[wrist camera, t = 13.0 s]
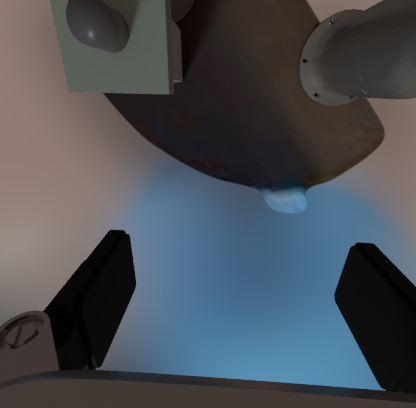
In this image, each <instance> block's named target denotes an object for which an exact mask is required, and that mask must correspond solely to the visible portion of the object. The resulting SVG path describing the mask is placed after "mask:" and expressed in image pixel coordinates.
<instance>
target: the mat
mask: <svg viewBox="0 0 416 408" xmlns="http://www.w3.org/2000/svg"><path fill="white" fill-rule="evenodd" d="M194 1H195V0H171V18H172V20H173V21H174V22H175V24H176V23H177V22H179V21H180V20H181V19H183V18H184V17H185V16H186V15H187V13H188V12H189V11H190V9H191V7H192V5H193V4H194Z"/></svg>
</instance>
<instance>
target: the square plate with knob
mask: <svg viewBox="0 0 416 408" xmlns="http://www.w3.org/2000/svg"><path fill="white" fill-rule="evenodd" d="M50 2H51V7H52V12H53V16H54V21H55V26H56V31H57V36H58V40H59V45H60V50H61V55H62V60H63V64H64V69H65V74H66V78H67V84H68V88H69V92H95V93H135V94H174V77H173V50H172V22H171V0H50Z"/></svg>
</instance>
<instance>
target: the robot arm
mask: <svg viewBox="0 0 416 408" xmlns="http://www.w3.org/2000/svg"><path fill="white" fill-rule="evenodd" d="M329 22H331V25H329ZM303 59H305V63H304V62H303ZM298 75H299V80H300V83H301V86H302V88H303V90H304V92H305V93H306V94H307V95H308V96H309V97H310V98H311V99H312V100H314V101H315V102H317V103H320V104H323V105H328V106H337V105H343V104H346V103H349V102H351V101H353V100H355V99H357V98H359V97H367V98H383V99H409V98H415V97H416V0H383V1H382V2H379V3H378V4H376V5H374V6H372V7H370V8H369V9H367V10H365V11H362V10H355V9H353V10H344V11H341V12H338V13H336V14H334V15H332V16H330V17H328V18H327V19H325V20H324V21H322V22H321V23H320V24H319V25H318V26H317V27H316V28H315V29H314V30H313V31H312V33H311V34H310V35H309V36H308V38H307V40H306V42H305V43H304V45H303V48H302V51H301V53H300V58H299V63H298ZM315 93H316V94H317V95H316V96H314V94H315ZM349 96H350V97H349ZM133 264H134V263H133V256H132V250H131V242H130V236H129V234H126V232H125V231H124V230H110V231H109V232H108V233H107V234H106V235H105V237H104V238H103V239H102V241H101V242H100V243H99V244H98V245H97V247H96V248H95V249H94V251H93V252H92V253H91V254H90V256H89V257H88V258H87V259H86V260H85V261H84V262H83V263H82V264H81V265H80V267H79V268H78V269H77V270H76V271H75V273H74V274H73V275H72V276H71V278H70V279H69V280H68V281H67V283H66V284H65V285H64V286H63V287H62V289H61V290H60V291H59V292H58V294H57V295H56V296H55V297H54V299H53V300H52V301H51V302H50V304H49V305H48V306H47V307H46V309H45V310H44V311H29V312H26V313H22V314H19V315H17V316H15V317H13V318H11V319H10V320H8V321H7V322H5V323H4V324H3V325H2V326H0V408H416V287H415V286H414V285H413V283H411V282H410V280H409V279H408V278H407V277H406V276H405V275H404V274H403V273H402V272H401V271H400V270H399V269H398V268H397V267H396V266H395V265H394V264H393V263H392V262H391V261H390V260H389V259H388V258H387V257H386V256H385V255H384V254H383V253H382V252H381V251H380V250H379V248H378V247H376V245H374V244H372V243H356V244H355V245H354V246H352V247H351V248H350V250H349V253H348V256H347V259H346V262H345V265H344V268H343V271H342V273H341V276H340V279H339V283H338V285H337V288H336V291H335V295H334V296H335V302H336V304H337V306H338V308H339V310H340V312H341V314H342V315H343V317H344V319H345V321H346V323H347V324H348V327H349V329H350V330H351V332H352V334H353V336H354V338H355V340H356V342H357V344H358V346H359V348H360V349H361V351H362V353H363V355H364V357H365V359H366V361H367V363H368V365H369V367H370V369H371V370H372V372H373V374H374V376H375V378H376V380H377V382H378V383H379V385H380V386H381V388H383V389H385V390H386V391H381V390H369V389H356V388H344V387H331V386H319V385H307V384H294V383H281V382H267V381H253V380H241V379H227V378H214V377H199V376H185V375H171V374H156V373H142V372H124V371H123V372H121V371H104V370H95V369H96V368H99V367H101V365H102V363H103V361H104V359H105V357H106V354H107V352H108V350H109V348H110V345H111V343H112V341H113V338H114V336H115V334H116V331H117V329H118V327H119V325H120V322H121V320H122V318H123V315H124V313H125V310H126V309H127V306H128V304H129V302H130V300H131V297H132V295H133V293H134V290H135V287H136V278H135V271H134V265H133Z"/></svg>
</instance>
